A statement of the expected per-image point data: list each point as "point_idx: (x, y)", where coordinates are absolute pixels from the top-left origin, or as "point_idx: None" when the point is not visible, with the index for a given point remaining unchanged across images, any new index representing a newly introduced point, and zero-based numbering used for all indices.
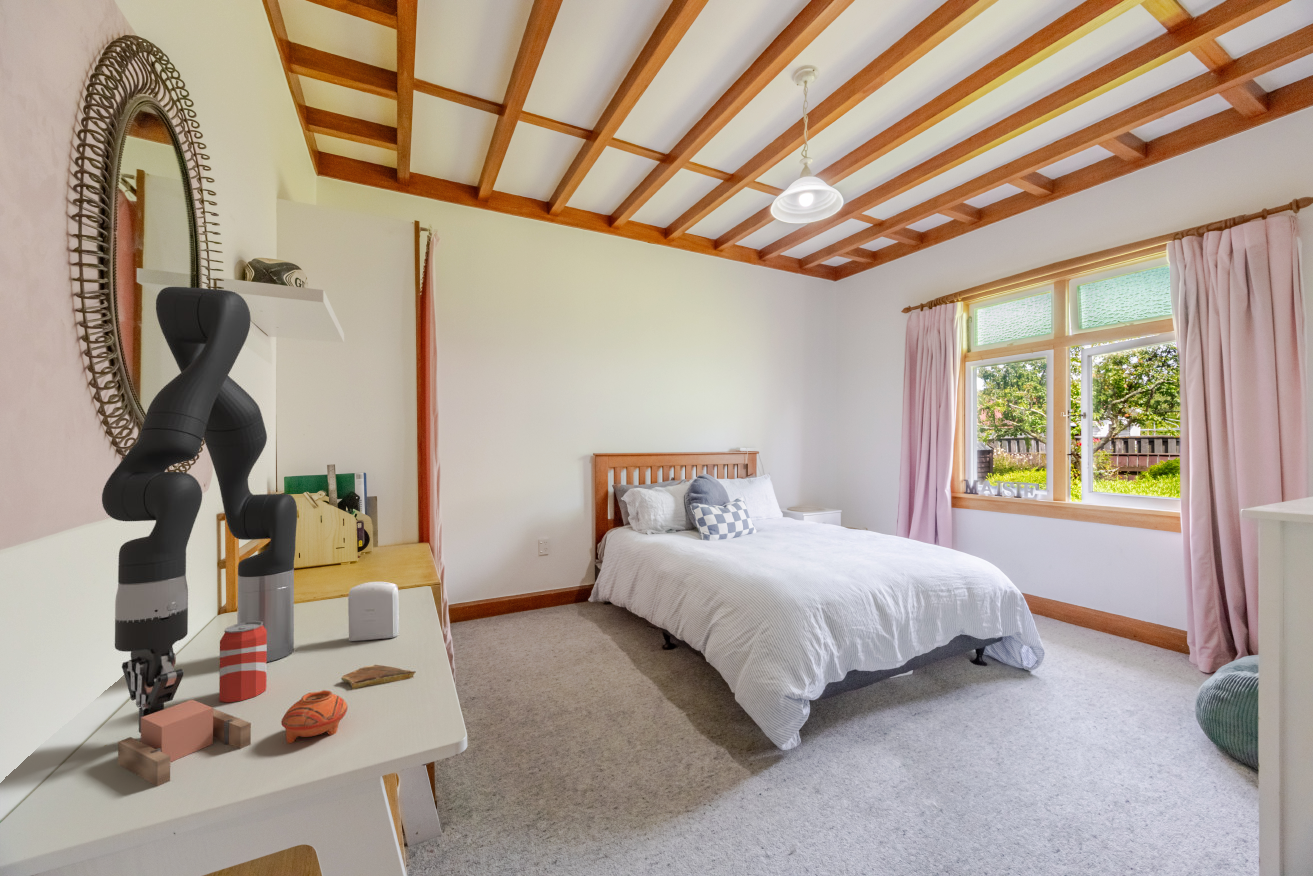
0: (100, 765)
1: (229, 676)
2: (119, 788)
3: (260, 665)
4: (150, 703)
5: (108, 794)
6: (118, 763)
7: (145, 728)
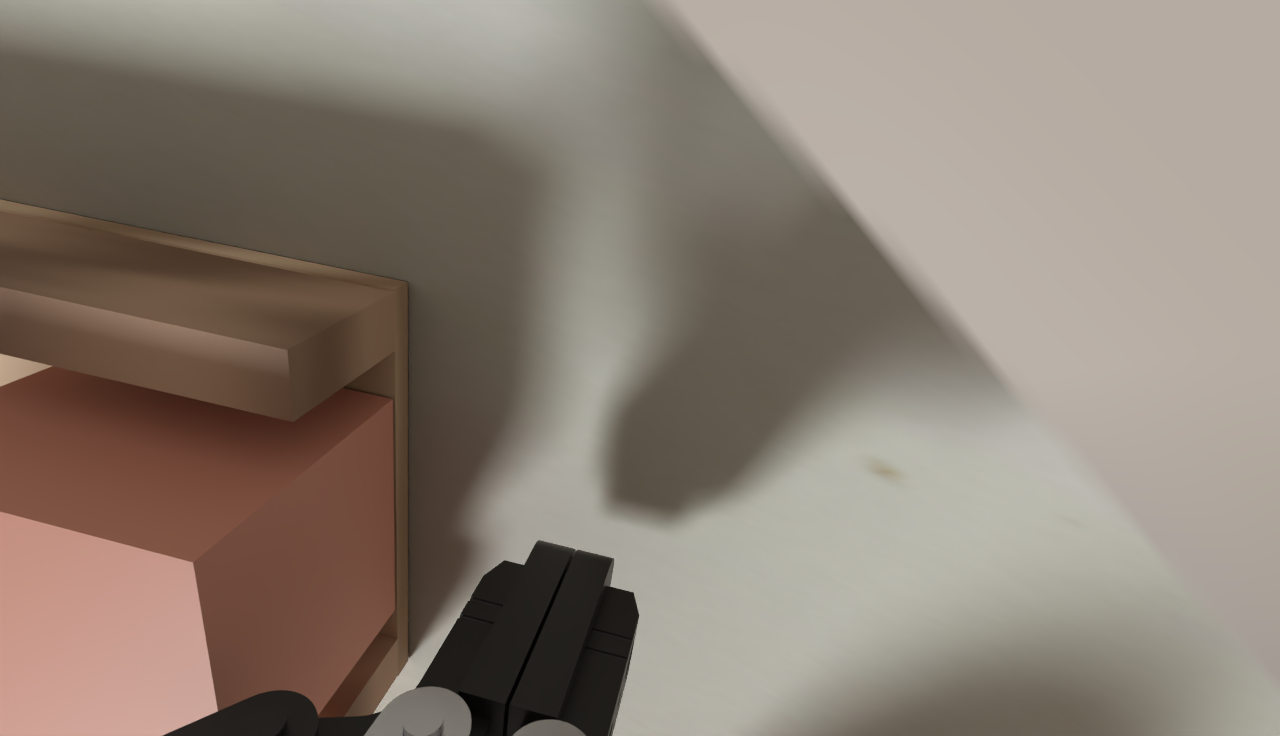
0: (577, 284)
1: None
2: (126, 142)
3: None
4: (223, 727)
5: (101, 79)
6: (386, 294)
7: (171, 489)
